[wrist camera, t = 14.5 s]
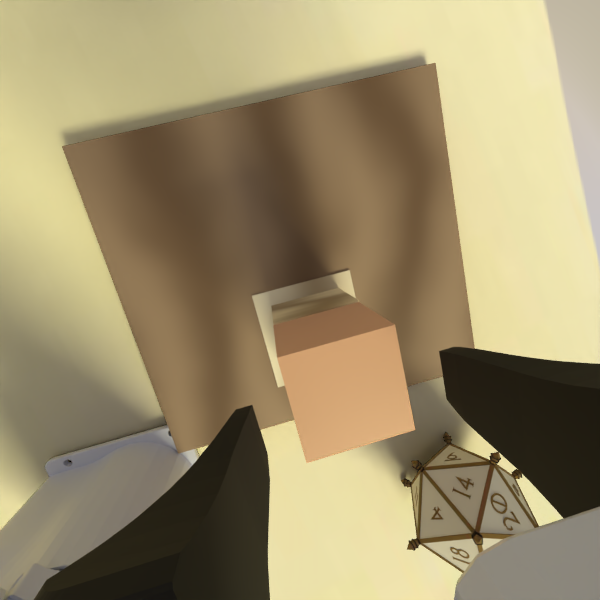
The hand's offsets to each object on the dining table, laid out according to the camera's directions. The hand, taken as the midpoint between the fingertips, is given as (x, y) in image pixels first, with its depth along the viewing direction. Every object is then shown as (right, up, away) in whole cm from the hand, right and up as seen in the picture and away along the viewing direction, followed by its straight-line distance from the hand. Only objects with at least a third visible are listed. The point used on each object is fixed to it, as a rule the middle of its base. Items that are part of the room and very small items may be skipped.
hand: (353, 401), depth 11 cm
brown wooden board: (-2, +6, +9) cm, 11 cm away
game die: (+9, -9, +14) cm, 19 cm away
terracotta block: (-1, +1, +5) cm, 5 cm away
